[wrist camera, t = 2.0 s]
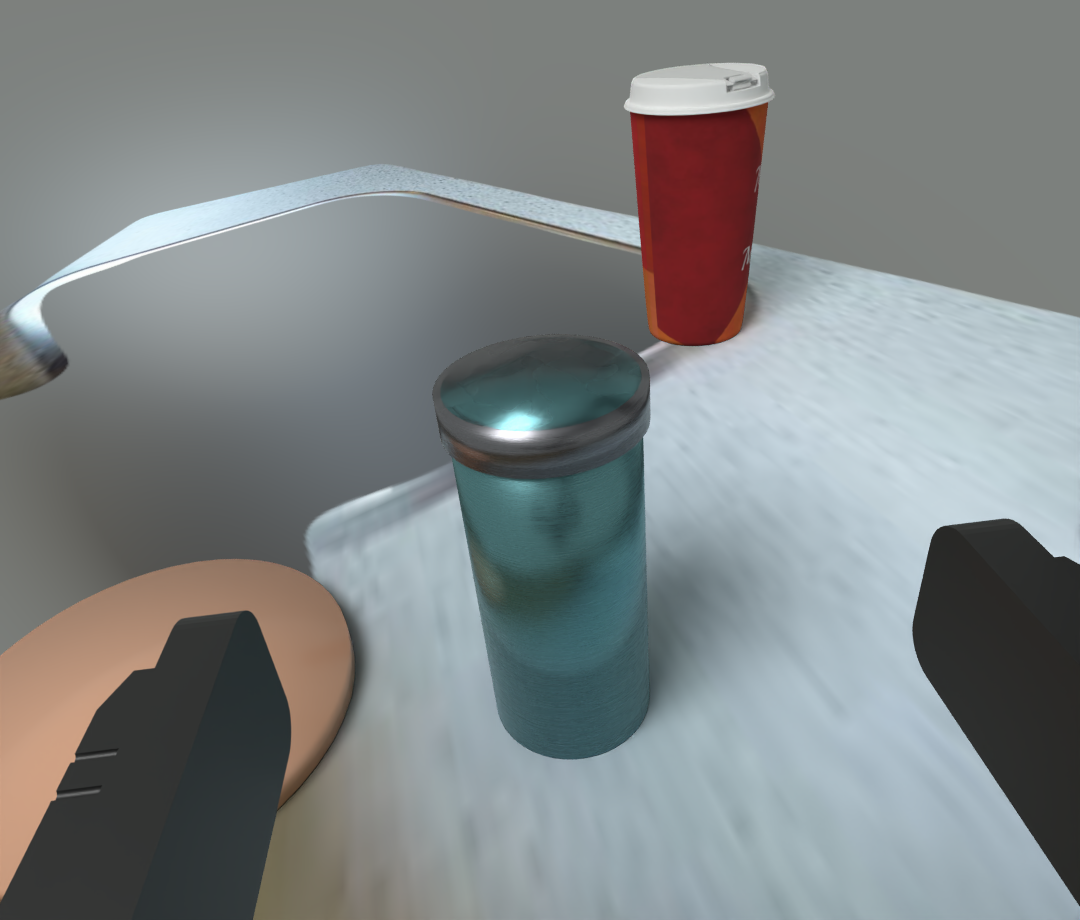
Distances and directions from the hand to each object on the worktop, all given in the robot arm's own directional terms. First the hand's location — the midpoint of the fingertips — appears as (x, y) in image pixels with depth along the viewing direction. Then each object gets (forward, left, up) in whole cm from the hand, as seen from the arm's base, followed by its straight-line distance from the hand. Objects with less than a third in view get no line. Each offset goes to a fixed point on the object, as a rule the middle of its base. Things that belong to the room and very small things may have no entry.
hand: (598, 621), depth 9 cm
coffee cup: (-39, -14, -15) cm, 44 cm away
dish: (-2, -20, -14) cm, 24 cm away
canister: (-9, -7, -14) cm, 18 cm away
